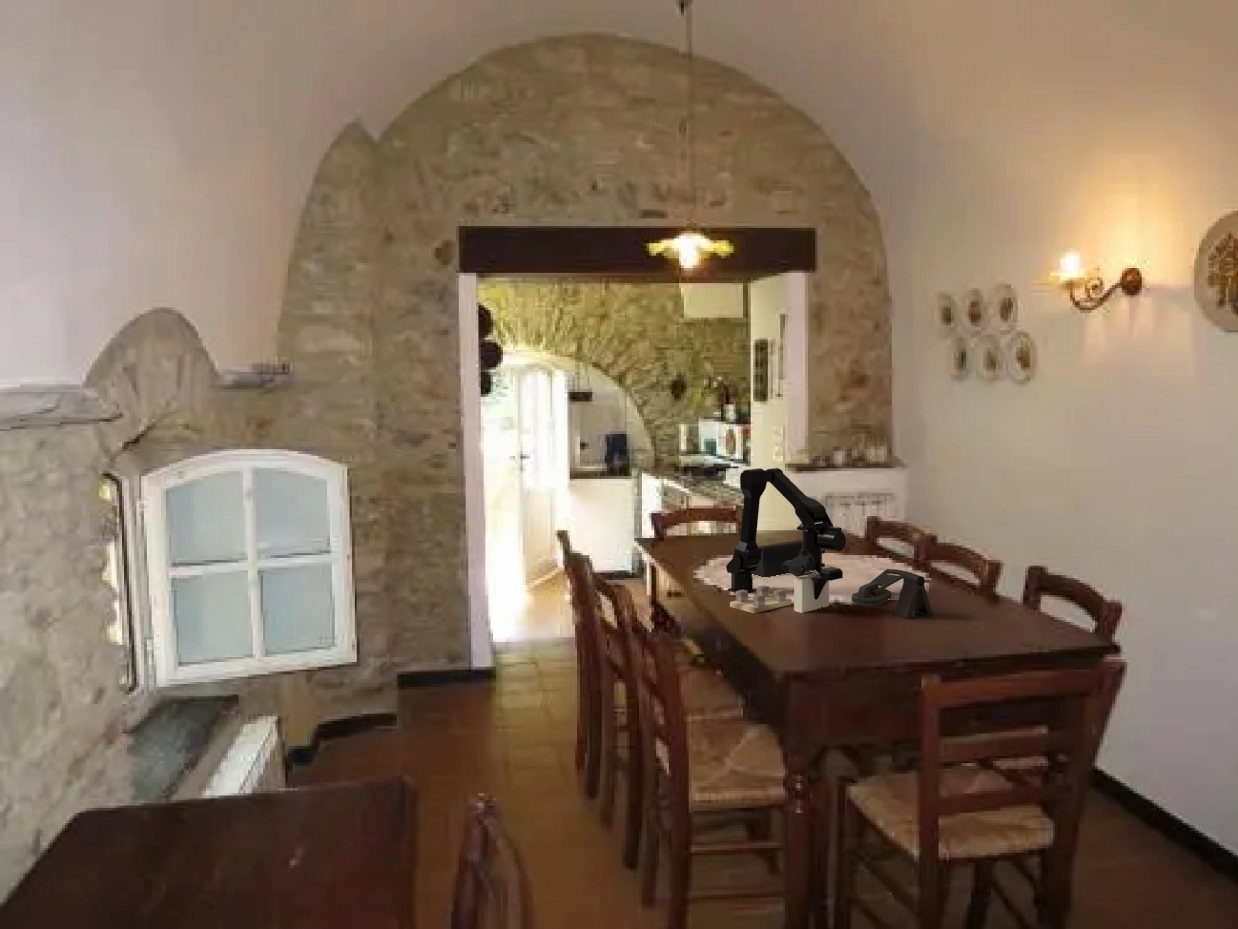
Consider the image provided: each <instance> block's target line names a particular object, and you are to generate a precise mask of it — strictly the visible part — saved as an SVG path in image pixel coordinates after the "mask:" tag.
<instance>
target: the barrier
mask: <svg viewBox="0 0 1238 929" xmlns="http://www.w3.org/2000/svg"><path fill="white" fill-rule="evenodd" d="M758 547H759V548H762V552H761V560H760V562H759V564H758V566H757V569H756V571H751V572H752V574H754V575H753V576H755V575H758V576H761V577H760V578H762V577H768V578H772V577H771V576H774V577H777V576H776V575H780V576H782V575H781V574H786V573H790V572H787V571H783V570H782V565H783V563H784V562H785V561H788V560H793V559H794V558H795V557H798V555H799V550H801V549H802V540H801V539H798V540H793V541H784V542H779V543H772V544H766V545H758ZM786 575H787V574H786ZM758 576H757V577H758Z"/></svg>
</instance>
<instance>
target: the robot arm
mask: <svg viewBox="0 0 1238 929" xmlns="http://www.w3.org/2000/svg"><path fill="white" fill-rule="evenodd" d="M768 483H770V484H771V485H772V486H773V487H774V489H776V490H777V491H778V492H779V493H780V494H781V495H782V497H784V498H785V499H786V501H787V502H789V504H791V506H792V507H793V508H794V513H795V515H796V516H797V518H798V519H799V520H800V522H801V523H800V524H799V525H797V527H796V530H798V531H802V549H801V550H799V555H798V557H795V558H794V559H793V560H788V561H785V562H784V563H783V565H782V570H783V571H787V572H790V573H791V575H793V576H794V577H799V576H804V575H808V574H813V573H815V574H816V577H814V578H811V579H812V580H813V582H814V599H815V600H817V599H818V598H819V596H820V594H821V592H822V590H823V588H824V586H825V584H826V582H827V581H829V582H830V581H831V582H832V581H835V580H840V579H843V578H844V577H843V576H844V571H843V570H842V569H841V568H839V567H833V566H828V567H826V563H824V562H823V554H825V553H826V550H829V551H835V552H841V551H843V550H844V549H845V548H846V544H847V538H846V534H845V533H844V532H843V531H842V527H840V526H836V527H835V526H834V524H833V522H832V521H831V518H830V516H829V515H828V513H827V509H826V507H825V505H823V504H822V503H820V502H819V501H818V500H816V499H814V498H812V497H809V496H807V495H806V494H805V493H804V492H803V491H802V490H801V489H800V488H799V487H798V486H797V485H796V484H795V483H794V482H793V481H792V480H791V479H790V478H789V477H788V476H786V474H785V473H784V471H783V470H782V469H781V468H778V467H772V468H768V469H766V470H765V469H763V468H749V469H744V470H743V471H742V472H741V473H740V476H739V487H740V490H741V493H742V495H743V503H742V505H743V506H742V516H741V526H740V527H741V528H740V537H739V538H740V539H739V541H738V543H737V544H736V546H735V547H734V549H733V554H732V555H733V556H732V558H731V560H729V562H728V563H727V564H726V565H725V568H726V572H727V573H729V574H731V575H730V576H731V577H730V578H731V579H730V580H731V581H730V582H731V583H730V587H729V588H727V591H730V592H733V593H734V592H735V593H736V591H740V590H746V591H748V593H751V592H755V591H756V588H753V584H754V581H753V580H754V579H753V575H752V572H751V571H756V569H757V566H758V564H759V562H760V560H761V552H762V548H759V547H758V546H759V545H758V544H757V534H758V524H759V523H758V521H759V512H760V502H761V501H760V500H761V497H762V496H763V494H764V492H765V491H766V488H767V486H768V485H767V484H768ZM754 590H755V591H754Z"/></svg>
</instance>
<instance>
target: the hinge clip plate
mask: <svg viewBox="0 0 1238 929" xmlns="http://www.w3.org/2000/svg"><path fill="white" fill-rule="evenodd" d="M769 590H770V589H769V586H768V585H765V584H764V585H759V586H756V594H754V595H752V596H751V597H749V592H748V591H746V590H740V591H736V592H735V600H734V601H733V600H732V601H730V602H729V607H730V608H732V609H733V608H734V609H737V610H740V611H745V612H748V613H752V614H758V613H762V612H765V611H770V610H773V609H774V610H775V609H777V608H782V607H787V606H791V605H792V599H791V598H787V591H786V590H785V589H776V590H774V591H773V594H771V593H769Z"/></svg>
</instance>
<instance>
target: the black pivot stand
mask: <svg viewBox="0 0 1238 929" xmlns="http://www.w3.org/2000/svg"><path fill="white" fill-rule="evenodd" d="M907 572H909V573H907ZM907 572H906V573H905V574H904V576H903V583H902V586H901V590H900V593H899V595H898V599H897V602H896V605H895V608H894V611H893V614H894V615H895V616H899V617H900V618H902V619H905V620H912V619H920V618H930V617H933V616H934V614H933V610H932V606H931V604H930V600H929V597H928V593H927V591H926V586H925V582H926V578H925V577H924V576H922V575H920V574H916V573H912V572H910V571H907Z"/></svg>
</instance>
